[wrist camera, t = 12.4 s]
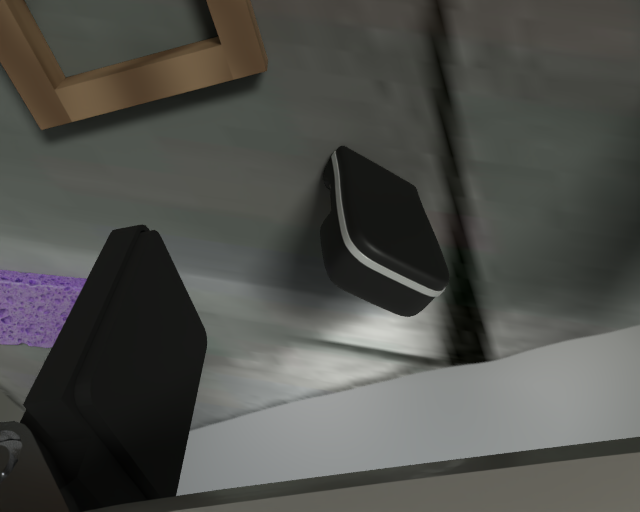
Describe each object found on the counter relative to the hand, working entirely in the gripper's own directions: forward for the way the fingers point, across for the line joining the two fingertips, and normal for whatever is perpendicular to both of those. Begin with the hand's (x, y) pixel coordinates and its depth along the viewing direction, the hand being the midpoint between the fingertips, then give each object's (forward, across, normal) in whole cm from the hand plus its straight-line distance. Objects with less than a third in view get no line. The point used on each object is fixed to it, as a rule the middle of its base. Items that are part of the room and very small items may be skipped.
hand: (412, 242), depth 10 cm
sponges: (+25, +27, +19) cm, 41 cm away
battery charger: (+25, +1, +13) cm, 29 cm away
